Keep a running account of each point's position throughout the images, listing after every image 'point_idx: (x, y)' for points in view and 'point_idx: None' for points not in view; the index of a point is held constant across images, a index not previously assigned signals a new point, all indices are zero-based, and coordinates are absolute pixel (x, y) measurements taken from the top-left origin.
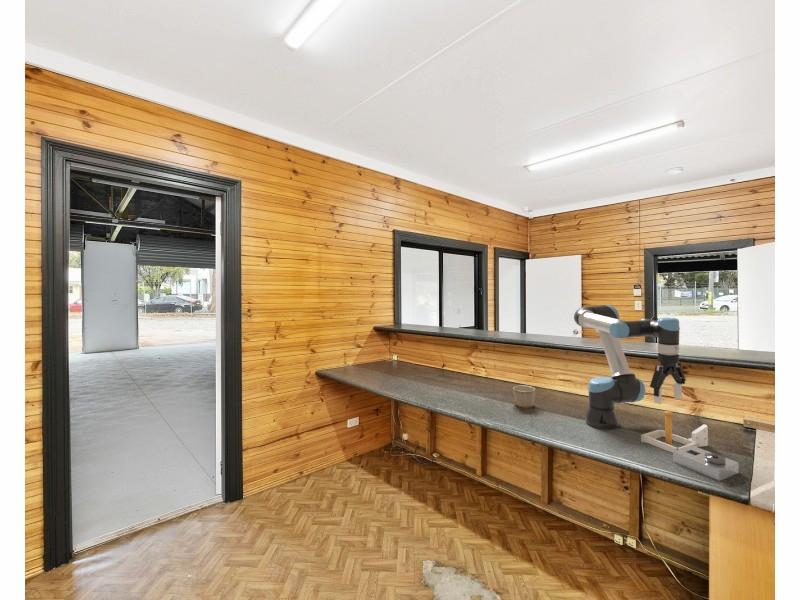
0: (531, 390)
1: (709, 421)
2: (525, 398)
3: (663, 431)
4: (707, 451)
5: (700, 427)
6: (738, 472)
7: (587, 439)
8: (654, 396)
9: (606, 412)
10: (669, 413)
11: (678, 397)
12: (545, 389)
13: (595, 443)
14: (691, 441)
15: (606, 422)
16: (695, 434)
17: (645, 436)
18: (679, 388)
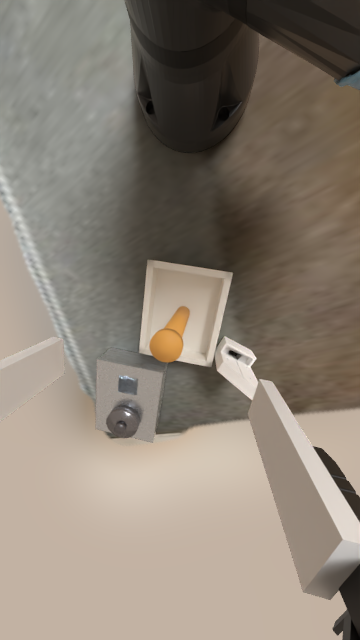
0: None
1: None
2: None
3: (223, 286)
4: (157, 400)
5: (246, 384)
6: (157, 426)
7: (51, 156)
8: (11, 358)
9: (153, 65)
10: (153, 355)
11: (253, 406)
12: None
13: (51, 189)
14: (208, 355)
15: (155, 115)
16: (217, 370)
17: (146, 272)
18: (280, 495)
